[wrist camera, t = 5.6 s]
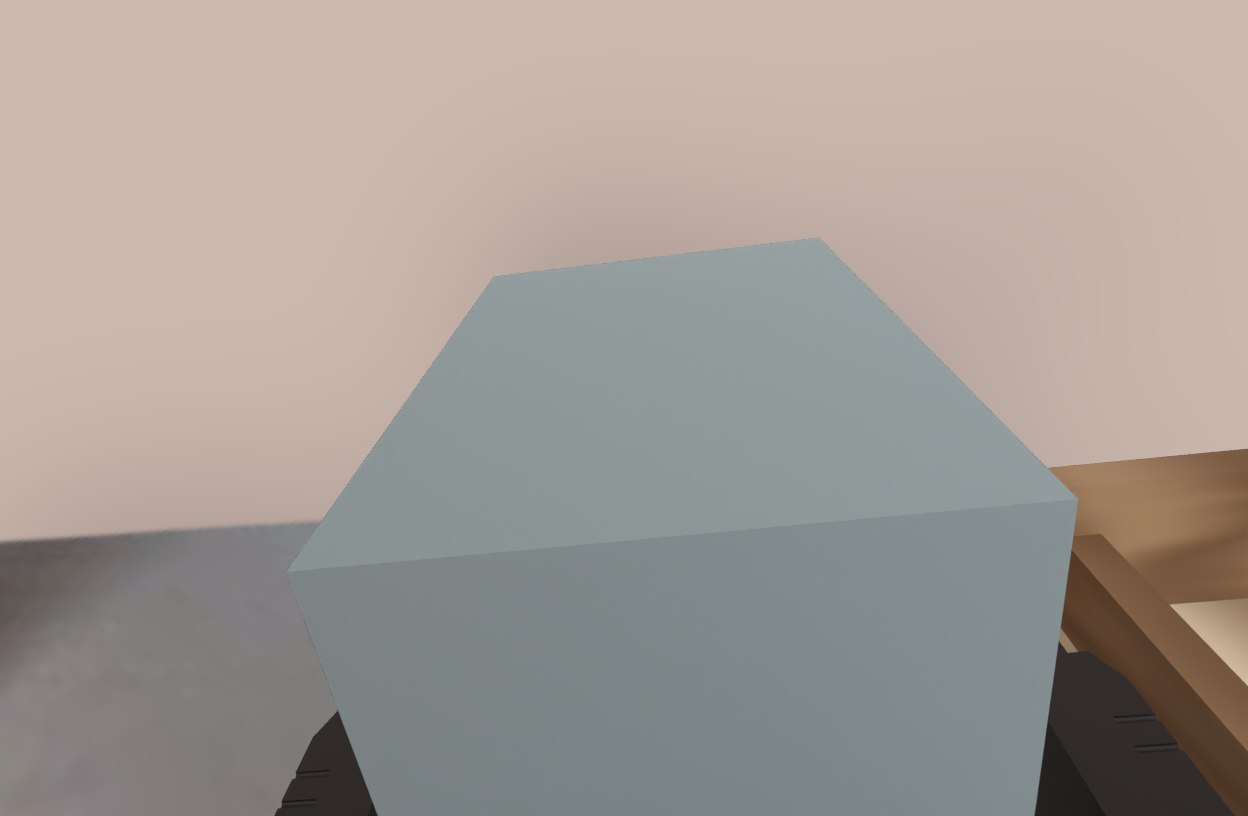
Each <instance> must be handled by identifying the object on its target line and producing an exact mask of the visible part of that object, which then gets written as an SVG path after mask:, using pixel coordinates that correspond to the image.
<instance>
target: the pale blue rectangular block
mask: <svg viewBox="0 0 1248 816" xmlns="http://www.w3.org/2000/svg"><path fill="white" fill-rule="evenodd" d="M1077 506H1078V498H1077V497H1076V496H1075V495H1074V494H1073V493H1072V492H1071V491H1070V490H1069V489H1068V488H1067V487H1066V486H1065V485H1064V484H1063V483H1062V482H1061V481H1060V480H1059V479H1058V478H1057V477H1056V476H1055V475H1054V474H1053V473H1052V472H1051V471H1050V470H1049V469H1048V468H1047V467H1046V466H1045V465H1044V464H1043V463H1042V462H1041V461H1040V460H1039V459H1038V458H1037V457H1036V456H1035V455H1034V454H1033V453H1032V452H1031V451H1030V450H1029V449H1028V448H1027V447H1026V446H1025V445H1024V444H1023V443H1022V442H1021V441H1020V440H1019V439H1018V438H1017V437H1016V436H1015V435H1014V434H1013V433H1012V432H1011V430H1010V429H1008V428H1007V426H1006V425H1005V424H1004V423H1002V422H1001V420H999V418H998V417H996V415H995V414H994V413H993V412H992V411H991V410H990V409H989V408H988V407H987V406H986V405H985V404H984V403H983V402H982V401H981V400H980V399H979V398H978V397H977V396H976V395H975V394H974V393H973V392H972V391H971V390H970V389H969V388H968V387H967V386H966V385H965V384H964V383H963V382H962V381H961V380H960V379H959V378H958V377H957V376H956V375H955V374H954V373H953V372H952V371H951V370H950V369H949V368H948V367H947V366H946V365H945V364H944V363H943V362H942V361H941V360H940V359H939V358H938V357H937V356H936V355H935V354H934V353H933V352H932V351H931V350H930V349H929V348H928V347H927V346H926V345H925V344H924V343H923V342H922V341H921V340H920V339H919V338H918V337H917V336H916V335H915V334H914V333H913V332H912V331H911V330H910V329H909V328H908V327H907V326H906V325H905V324H904V323H903V322H902V321H901V319H900V318H899V317H898V316H897V315H896V314H895V313H893V311H892V310H890V308H889V307H888V306H887V305H886V304H885V303H884V302H883V301H882V300H881V299H880V298H879V297H878V296H877V295H876V294H875V293H874V292H873V291H872V290H871V289H870V288H869V287H868V286H867V285H866V284H865V283H864V282H863V281H862V280H861V279H860V278H859V277H858V276H857V275H856V274H855V273H854V272H853V271H852V270H851V269H850V268H849V267H848V266H847V265H846V264H845V263H844V262H843V261H842V260H841V259H840V258H839V257H838V256H837V255H836V254H835V253H834V252H833V251H832V250H831V249H830V248H829V247H828V246H827V245H826V244H825V243H824V242H823V241H822V240H821V239H820V238H811V239H803V240H794V241H787V242H778V243H769V244H761V245H753V246H744V247H736V248H728V249H719V250H711V251H702V252H694V253H686V254H678V255H669V256H661V257H652V258H645V259H636V260H627V261H619V262H611V263H602V264H594V265H587V266H578V267H569V268H560V269H552V270H544V271H536V272H527V273H519V274H510V275H502V276H494V277H493V278H492V279H491V281H490V283H489V284H488V285H487V287H486V288H485V289H484V291H483V293H482V294H481V295H480V297H479V298H478V299H477V301H476V302H475V304H474V305H473V306H472V308H471V309H470V311H469V312H468V314H467V315H466V316H465V318H464V319H463V321H462V322H461V324H460V325H459V326H458V328H457V329H456V331H455V332H454V334H453V335H452V336H451V338H450V339H449V341H448V342H447V343H446V345H445V346H444V348H443V349H442V351H441V352H440V353H439V355H438V356H437V358H436V359H435V361H434V362H433V363H432V365H431V366H430V368H429V369H428V370H427V372H426V373H425V375H424V376H423V378H422V379H421V380H420V382H419V383H418V385H417V386H416V388H415V389H414V391H413V392H412V393H411V395H410V396H409V397H408V399H407V400H406V402H405V403H404V405H403V406H402V407H401V409H400V410H399V412H398V413H397V415H396V416H395V417H394V419H393V420H392V422H391V423H390V424H389V426H388V427H387V429H386V430H385V432H384V433H383V435H382V436H381V437H380V439H379V440H378V442H377V443H376V444H375V446H374V447H373V449H372V450H371V451H370V453H369V454H368V456H367V457H366V459H365V460H364V461H363V463H362V464H361V466H360V467H359V469H358V470H357V471H356V473H355V474H354V476H353V477H352V479H351V480H350V481H349V483H348V484H347V486H346V487H345V488H344V490H343V491H342V493H341V494H340V496H339V497H338V498H337V500H336V501H335V503H334V504H333V506H332V507H331V508H330V510H329V511H328V513H327V514H326V515H325V517H324V518H323V520H322V521H321V523H320V524H319V525H318V527H317V528H316V530H315V531H314V533H313V534H312V535H311V537H310V538H309V540H308V541H307V542H306V544H305V545H304V547H303V548H302V550H301V551H300V552H299V554H298V555H297V557H296V558H295V560H294V561H293V562H292V564H291V565H290V567H289V568H288V569H287V571H286V574H287V576H288V579H289V582H290V584H291V587H292V590H293V592H294V595H295V598H296V600H297V603H298V606H299V608H300V611H301V614H302V616H303V619H304V622H305V624H306V627H307V629H308V632H309V635H310V637H311V640H312V643H313V645H314V648H315V651H316V653H317V656H318V659H319V661H320V664H321V667H322V669H323V672H324V674H325V677H326V680H327V682H328V685H329V688H330V690H331V693H332V696H333V698H334V701H335V704H336V706H337V709H338V712H339V714H340V717H341V720H342V722H343V725H344V727H345V730H346V733H347V735H348V738H349V741H350V743H351V746H352V749H353V751H354V754H355V757H356V759H357V762H358V765H359V767H360V770H361V772H362V775H363V778H364V780H365V783H366V786H367V788H368V791H369V794H370V796H371V799H372V802H373V804H374V807H375V810H376V812H377V815H378V816H1034V815H1035V808H1036V801H1037V794H1038V786H1039V779H1040V772H1041V765H1042V758H1043V750H1044V743H1045V736H1046V729H1047V722H1048V714H1049V707H1050V700H1051V693H1052V686H1053V679H1054V671H1055V664H1056V657H1057V650H1058V643H1059V635H1060V628H1061V621H1062V614H1063V607H1064V599H1065V592H1066V585H1067V578H1068V571H1069V563H1070V556H1071V549H1072V542H1073V535H1074V527H1075V520H1076V513H1077Z"/></svg>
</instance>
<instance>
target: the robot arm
mask: <svg viewBox="0 0 1248 816" xmlns="http://www.w3.org/2000/svg"><path fill="white" fill-rule="evenodd" d="M275 816H378V815H377V812H376V810H375V807H374V804H373V802H372V799H371V796H370V794H369V791H368V788H367V786H366V783H365V780H364V778H363V775H362V772H361V770H360V767H359V765H358V762H357V759H356V757H355V754H354V751H353V749H352V746H351V743H350V741H349V738H348V735H347V733H346V730H345V727H344V725H343V722H342V720H341V717H340V714H339V712H338V711H337V712H336V713H335V714H334V715H333V717H332V718H331V719H330V720H329V721H328V722H327V723H326V724H325V725H324V726H323V727H322V728H321V729H320V730H319V732H318V733H317V734H316V735H315V736H314V737H313V738H312V740H311V742H310V744H309V746H308V749H307V751H306V753H305V755H304V757H303V759H302V761H301V763H300V765H299V767H298V769H297V771H296V778H295V779H292V781H291V783H290V785H289V787H288V789H287V791H286V793H285V795H284V797H283V799H282V807H281V808H279V809H278V810H277V812H276V814H275ZM1034 816H1235V815H1234V814H1233V813H1232V812H1231V810H1230V809H1229V808H1228V807H1227V805H1226V804H1225V803H1224V801H1223V800H1222V799H1221V798H1220V796H1219V795H1218V794H1217V792H1216V791H1215V790H1214V789H1213V787H1212V786H1211V785H1210V783H1209V782H1208V781H1207V780H1206V778H1205V777H1204V776H1203V775H1202V773H1201V772H1200V771H1199V769H1198V768H1197V767H1196V766H1195V764H1194V763H1193V762H1192V760H1191V759H1190V758H1189V757H1188V755H1187V754H1186V753H1185V751H1184V750H1180V749H1179V748H1178V743H1177V741H1176V740H1175V739H1174V737H1173V736H1172V735H1171V734H1170V732H1169V731H1168V730H1167V728H1166V727H1165V726H1164V725H1163V723H1162V722H1161V721H1157V720H1156V718H1155V713H1154V712H1153V711H1152V709H1151V708H1150V707H1149V705H1148V704H1147V703H1146V702H1145V700H1144V699H1143V698H1142V696H1141V695H1140V694H1139V693H1138V691H1137V690H1136V689H1135V688H1134V686H1133V685H1132V684H1131V682H1130V681H1129V680H1128V679H1127V678H1126V677H1124V676H1123V675H1122V674H1120V673H1119V672H1117V671H1116V670H1114V669H1113V668H1112V667H1110V666H1109V665H1107V664H1106V663H1105V662H1103V661H1102V660H1100V659H1099V658H1098V657H1096V656H1095V655H1093V654H1092V653H1091V652H1089V651H1083V652H1070V653H1067V651H1066V650H1065V648H1064V647H1063V646H1062V644H1061V643H1060V641H1059V643H1058V650H1057V657H1056V664H1055V671H1054V679H1053V686H1052V693H1051V700H1050V707H1049V714H1048V722H1047V729H1046V736H1045V743H1044V750H1043V758H1042V765H1041V772H1040V779H1039V786H1038V794H1037V801H1036V808H1035V815H1034Z"/></svg>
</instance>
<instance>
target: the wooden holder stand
mask: <svg viewBox="0 0 1248 816" xmlns="http://www.w3.org/2000/svg"><path fill="white" fill-rule="evenodd" d="M1048 469H1049V470H1050V471H1051V472H1052V473H1053V474H1054V475H1055V476H1056V477H1057V478H1058V479H1059V480H1060V481H1061V482H1062V483H1063V484H1064V485H1065V486H1066V487H1067V488H1068V489H1069V490H1070V491H1071V492H1072V493H1073V494H1074V495H1075V496H1076V497H1077V498H1078V506H1077V513H1076V520H1075V527H1074V535H1073V542H1072V549H1071V556H1070V563H1069V571H1068V578H1067V585H1066V592H1065V599H1064V607H1063V614H1062V621H1061V628H1060V635H1059V641H1060V643H1061V644H1062V646H1063V647H1064V648H1065V650H1066V651H1067V653H1070V652H1083V651H1089V652H1091V653H1092V654H1093V655H1095V656H1096V657H1098V658H1099V659H1100V660H1102V661H1103V662H1105V663H1106V664H1107V665H1109V666H1110V667H1112V668H1113V669H1114V670H1116V671H1117V672H1119V673H1120V674H1122V675H1123V676H1124V677H1126V678H1127V679H1128V680H1129V681H1130V682H1131V684H1132V685H1133V686H1134V688H1135V689H1136V690H1137V691H1138V693H1139V694H1140V695H1141V696H1142V698H1143V699H1144V700H1145V702H1146V703H1147V704H1148V705H1149V707H1150V708H1151V709H1152V711H1153V712H1154V713H1155V718H1156V720H1157V721H1161V722H1162V723H1163V725H1164V726H1165V727H1166V728H1167V730H1168V731H1169V732H1170V734H1171V735H1172V736H1173V737H1174V739H1175V740H1176V741H1177V743H1178V748H1179V749H1180V750H1184V751H1185V753H1186V754H1187V755H1188V757H1189V758H1190V759H1191V760H1192V762H1193V763H1194V764H1195V766H1196V767H1197V768H1198V769H1199V771H1200V772H1201V773H1202V775H1203V776H1204V777H1205V778H1206V780H1207V781H1208V782H1209V783H1210V785H1211V786H1212V787H1213V789H1214V790H1215V791H1216V792H1217V794H1218V795H1219V796H1220V798H1221V799H1222V800H1223V801H1224V803H1225V804H1226V805H1227V807H1228V808H1229V809H1230V810H1231V812H1232V813H1233V814H1234V815H1235V816H1248V449H1241V450H1230V451H1220V452H1210V453H1199V454H1188V455H1179V456H1167V457H1157V458H1146V459H1136V460H1126V461H1115V462H1105V463H1094V464H1084V465H1073V466H1063V467H1052V468H1048Z"/></svg>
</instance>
